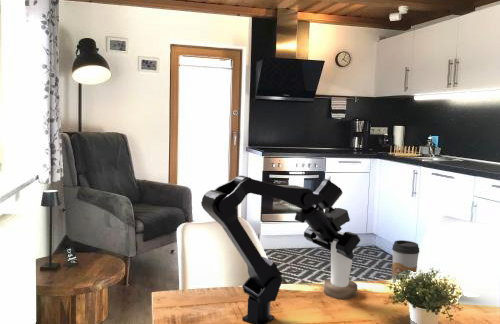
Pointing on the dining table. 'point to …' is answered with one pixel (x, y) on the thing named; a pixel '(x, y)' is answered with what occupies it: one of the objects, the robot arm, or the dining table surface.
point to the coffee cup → (404, 257)
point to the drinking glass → (339, 267)
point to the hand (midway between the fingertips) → (344, 255)
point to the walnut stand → (340, 290)
